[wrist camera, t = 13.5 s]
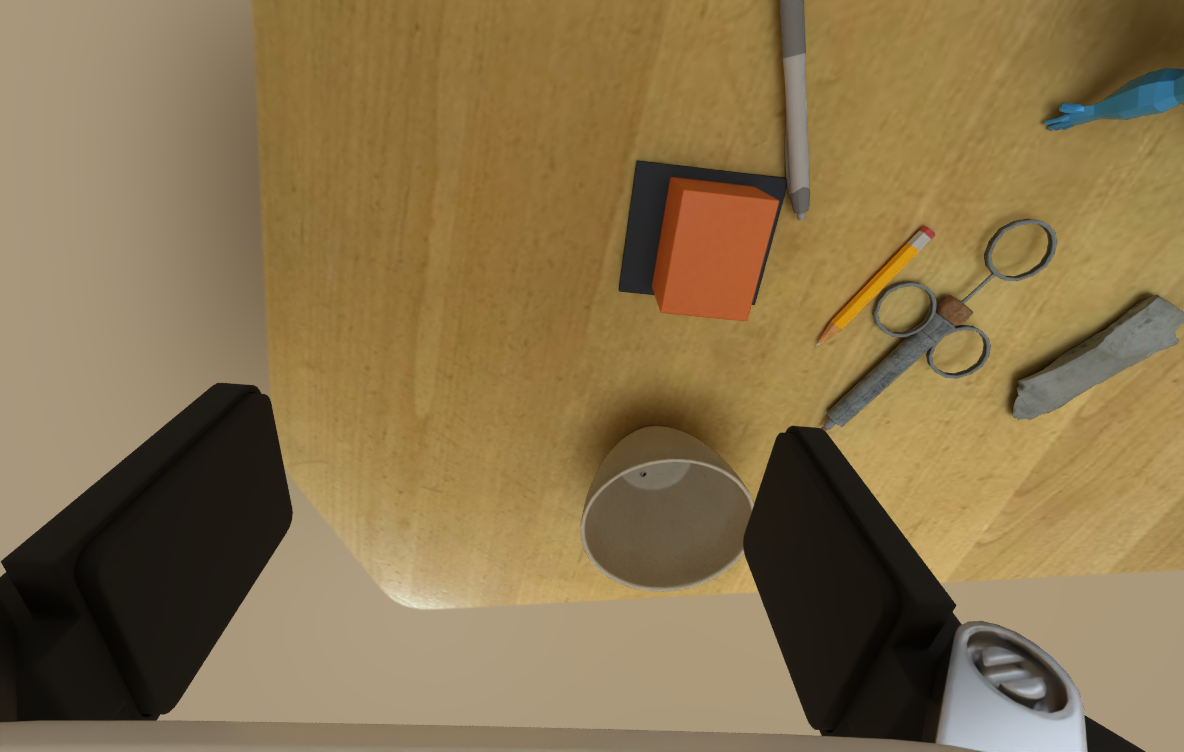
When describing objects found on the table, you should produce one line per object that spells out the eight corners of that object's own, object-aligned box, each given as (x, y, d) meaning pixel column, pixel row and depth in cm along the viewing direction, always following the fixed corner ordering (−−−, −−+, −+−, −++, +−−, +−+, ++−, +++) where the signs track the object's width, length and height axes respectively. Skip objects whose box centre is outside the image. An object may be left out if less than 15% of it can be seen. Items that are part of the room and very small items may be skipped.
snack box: (670, 176, 27) (683, 189, 24) (754, 186, 28) (780, 200, 24) (651, 287, 30) (660, 313, 27) (728, 295, 31) (747, 321, 27)
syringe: (849, 486, 35) (841, 471, 37) (1108, 271, 28) (1085, 264, 30) (760, 423, 34) (756, 411, 36) (1005, 182, 27) (987, 179, 28)
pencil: (938, 235, 29) (931, 228, 28) (821, 352, 32) (814, 347, 32) (928, 231, 29) (921, 224, 29) (815, 346, 33) (808, 341, 32)
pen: (785, 218, 29) (795, 224, 27) (766, -113, 22) (777, -125, 21) (804, 214, 29) (815, 219, 27) (790, -120, 22) (803, -132, 21)
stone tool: (991, 386, 34) (1006, 420, 37) (1013, 404, 32) (1027, 437, 35) (1163, 277, 31) (1164, 324, 34) (1194, 292, 29) (1193, 339, 32)
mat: (618, 289, 31) (618, 291, 30) (636, 160, 27) (637, 161, 27) (753, 302, 31) (755, 305, 31) (786, 177, 28) (789, 179, 28)
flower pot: (732, 498, 38) (761, 578, 32) (596, 520, 39) (599, 602, 33) (720, 379, 34) (752, 446, 27) (566, 407, 34) (562, 478, 28)
